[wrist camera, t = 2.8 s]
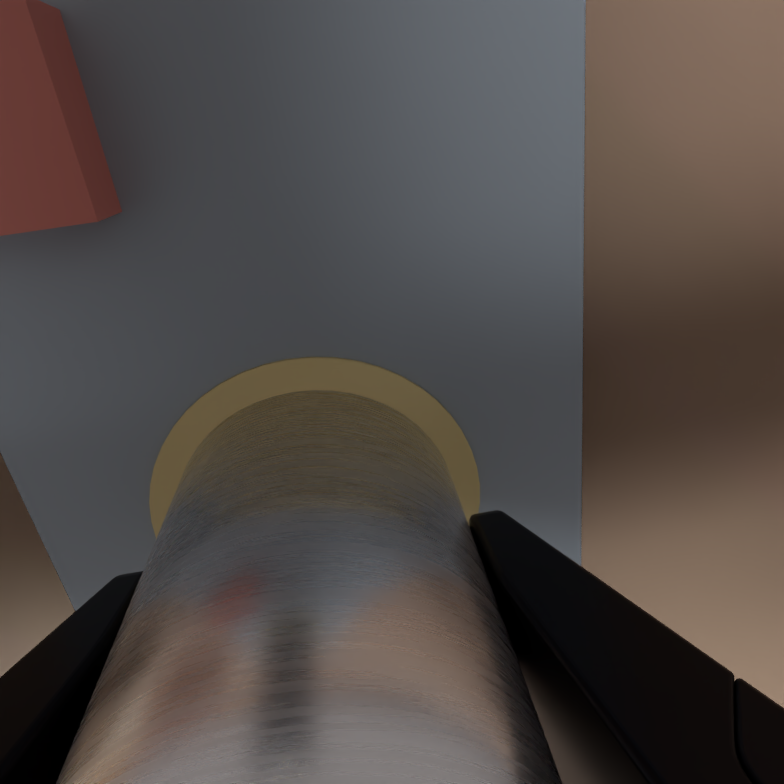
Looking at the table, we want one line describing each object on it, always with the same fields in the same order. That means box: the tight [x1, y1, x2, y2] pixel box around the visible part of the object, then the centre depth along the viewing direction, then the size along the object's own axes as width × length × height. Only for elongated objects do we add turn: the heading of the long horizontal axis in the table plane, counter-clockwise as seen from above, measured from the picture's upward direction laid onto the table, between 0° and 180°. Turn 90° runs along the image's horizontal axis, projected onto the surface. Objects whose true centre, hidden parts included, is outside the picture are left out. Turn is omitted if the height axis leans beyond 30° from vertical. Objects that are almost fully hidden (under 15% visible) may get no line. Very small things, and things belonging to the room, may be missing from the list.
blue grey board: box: [0, 0, 586, 611], centre depth 7 cm, size 8×18×2 cm, turn 7°
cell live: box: [56, 390, 562, 784], centre depth 5 cm, size 4×4×8 cm
